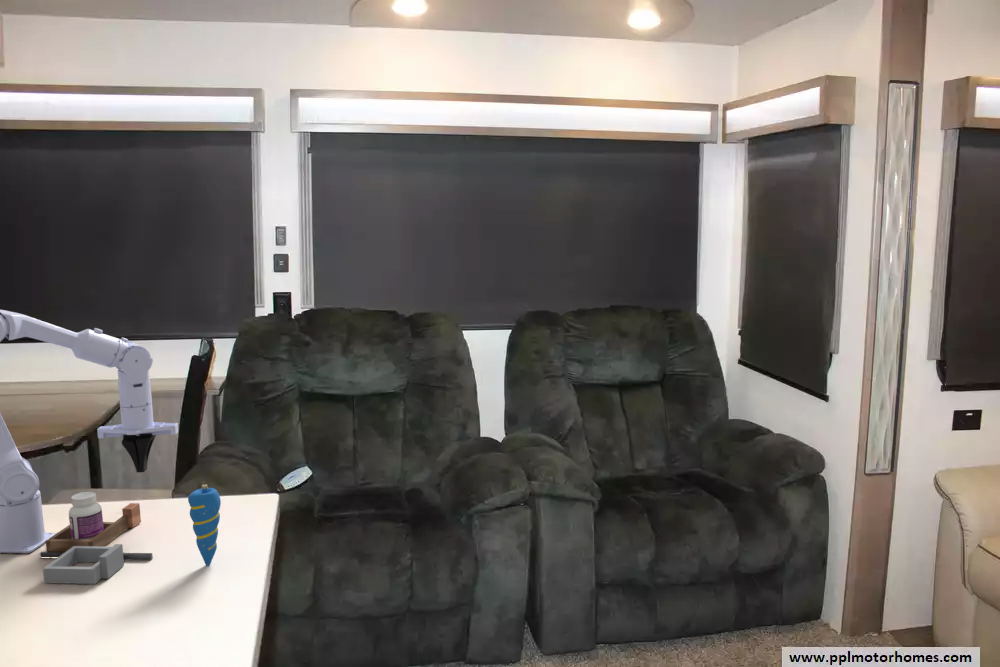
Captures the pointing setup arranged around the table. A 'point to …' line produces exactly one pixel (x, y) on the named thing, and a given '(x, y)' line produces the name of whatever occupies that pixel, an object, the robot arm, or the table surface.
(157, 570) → the table surface
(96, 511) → the pill bottle
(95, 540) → the frame
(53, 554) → the rail
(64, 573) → the gray rectangular frame
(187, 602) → the table surface
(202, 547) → the ornament
